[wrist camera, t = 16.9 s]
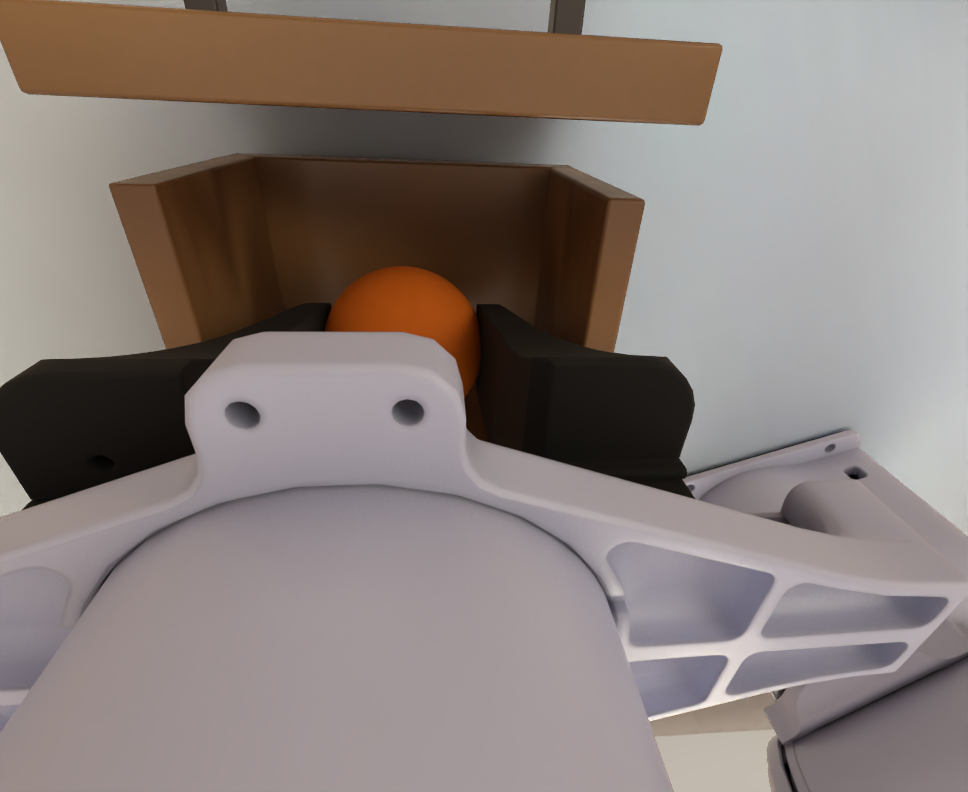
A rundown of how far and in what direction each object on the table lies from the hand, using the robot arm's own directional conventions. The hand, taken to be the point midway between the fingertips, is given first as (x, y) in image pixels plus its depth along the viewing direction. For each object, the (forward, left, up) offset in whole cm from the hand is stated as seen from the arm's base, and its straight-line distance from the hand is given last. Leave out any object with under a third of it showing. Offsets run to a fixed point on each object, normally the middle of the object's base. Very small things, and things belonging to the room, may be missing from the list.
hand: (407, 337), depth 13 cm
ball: (0, 0, +1) cm, 1 cm away
